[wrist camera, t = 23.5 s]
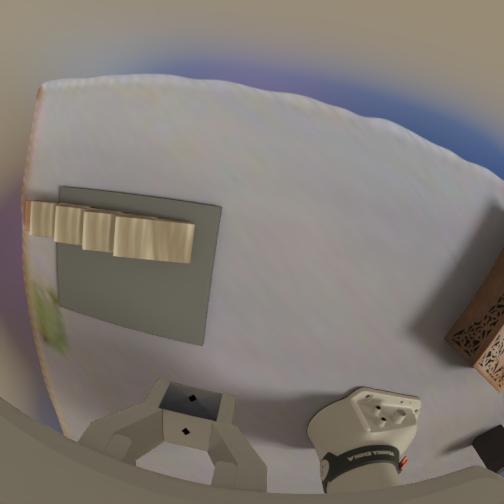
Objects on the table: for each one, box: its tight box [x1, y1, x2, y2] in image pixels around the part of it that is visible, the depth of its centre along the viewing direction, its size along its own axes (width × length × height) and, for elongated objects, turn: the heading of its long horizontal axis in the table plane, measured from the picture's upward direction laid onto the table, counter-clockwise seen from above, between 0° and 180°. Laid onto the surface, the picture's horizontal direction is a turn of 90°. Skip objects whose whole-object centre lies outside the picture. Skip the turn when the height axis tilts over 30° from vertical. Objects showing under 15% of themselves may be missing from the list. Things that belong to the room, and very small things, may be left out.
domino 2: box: [54, 205, 124, 245], centre depth 35 cm, size 2×5×10 cm
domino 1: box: [30, 200, 92, 238], centre depth 35 cm, size 2×5×10 cm
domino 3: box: [82, 210, 158, 253], centre depth 35 cm, size 2×5×10 cm
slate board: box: [57, 187, 222, 346], centre depth 39 cm, size 26×20×1 cm
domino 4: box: [113, 215, 195, 263], centre depth 35 cm, size 2×5×10 cm
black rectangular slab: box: [472, 425, 504, 474], centre depth 38 cm, size 11×4×15 cm, turn 96°
